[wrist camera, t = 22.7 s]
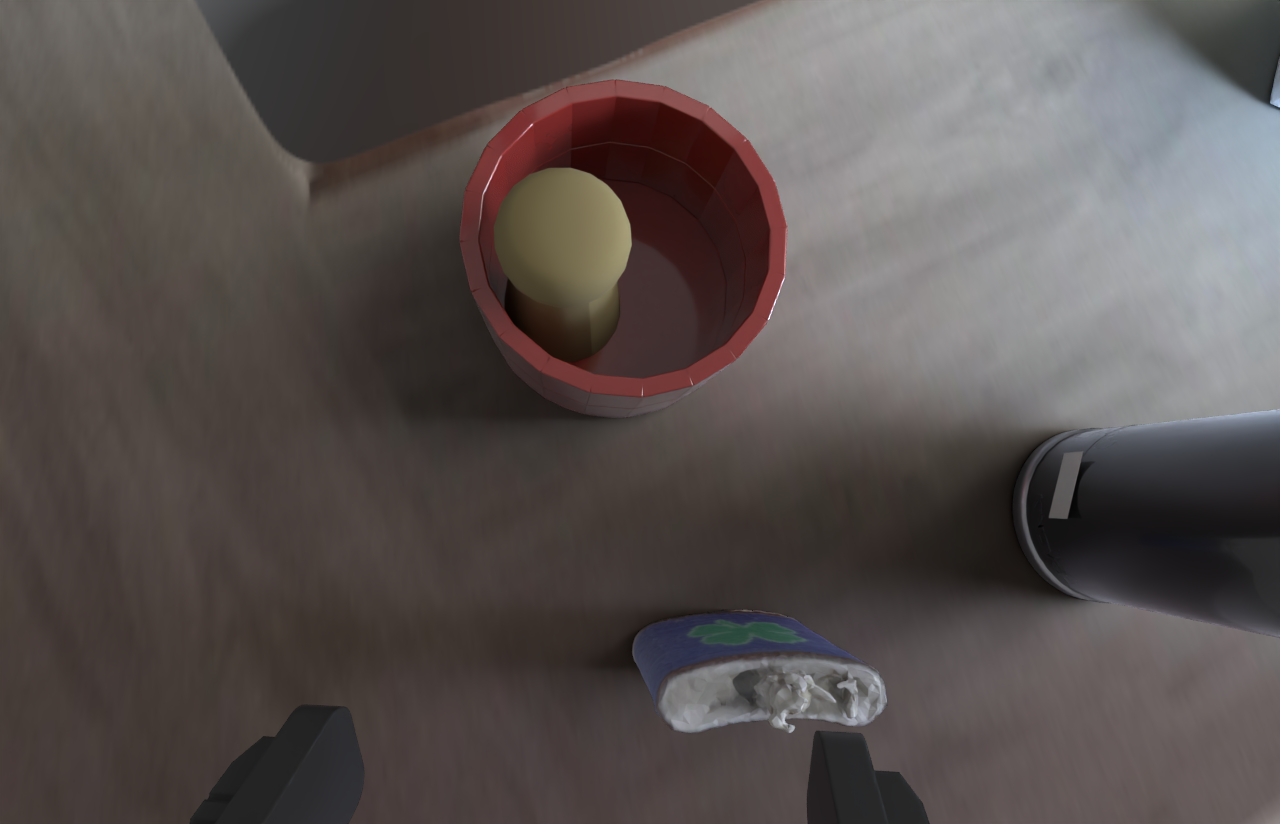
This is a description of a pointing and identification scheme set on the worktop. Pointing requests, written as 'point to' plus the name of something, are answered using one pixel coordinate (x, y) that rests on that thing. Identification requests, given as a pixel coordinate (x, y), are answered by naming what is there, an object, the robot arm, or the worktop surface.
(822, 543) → the worktop surface
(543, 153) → the pot
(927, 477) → the worktop surface
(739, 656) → the flask
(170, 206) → the worktop surface
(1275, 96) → the tea box
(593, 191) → the cork
